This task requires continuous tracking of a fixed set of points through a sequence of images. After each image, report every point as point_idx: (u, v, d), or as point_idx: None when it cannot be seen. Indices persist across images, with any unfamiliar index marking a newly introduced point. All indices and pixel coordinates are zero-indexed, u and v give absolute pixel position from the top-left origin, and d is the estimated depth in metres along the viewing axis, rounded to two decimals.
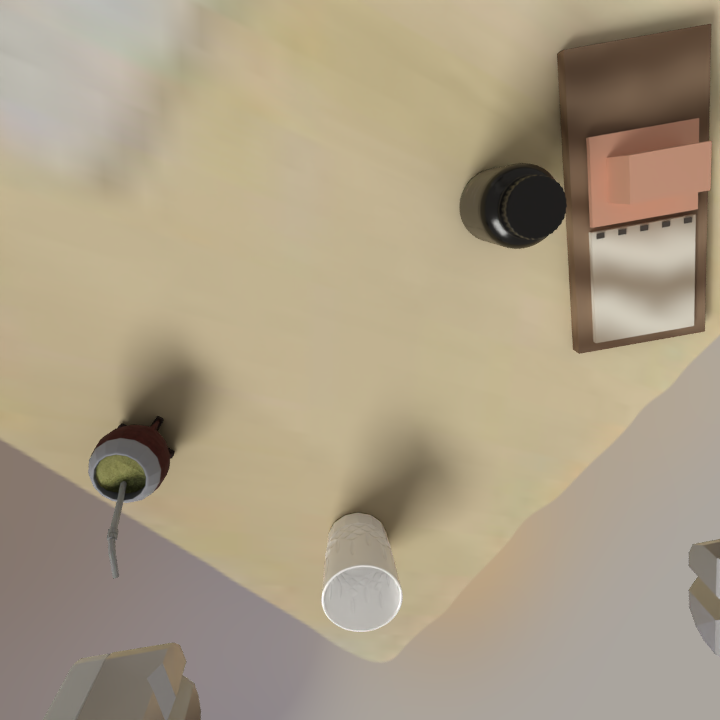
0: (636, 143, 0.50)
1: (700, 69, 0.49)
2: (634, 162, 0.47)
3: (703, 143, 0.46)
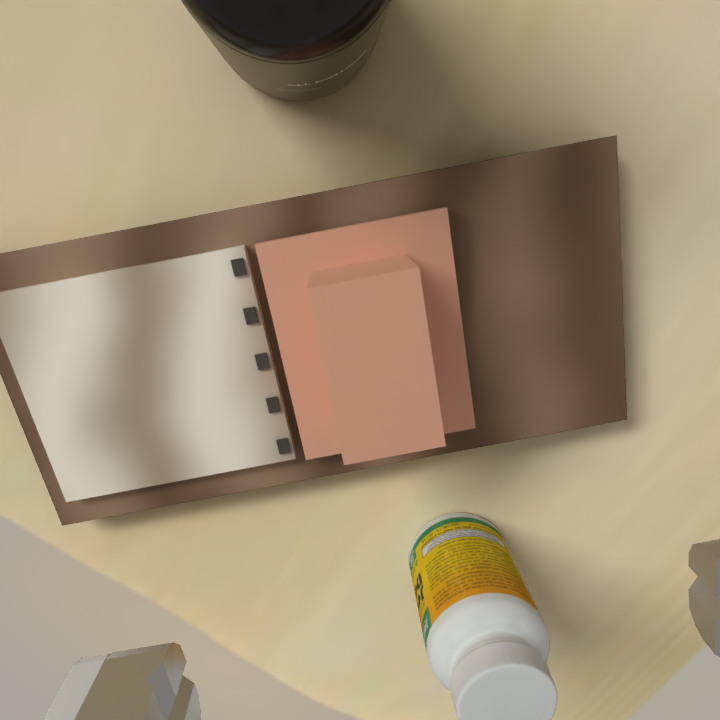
0: (431, 313, 0.24)
1: (554, 416, 0.27)
2: (402, 283, 0.19)
3: (441, 430, 0.21)
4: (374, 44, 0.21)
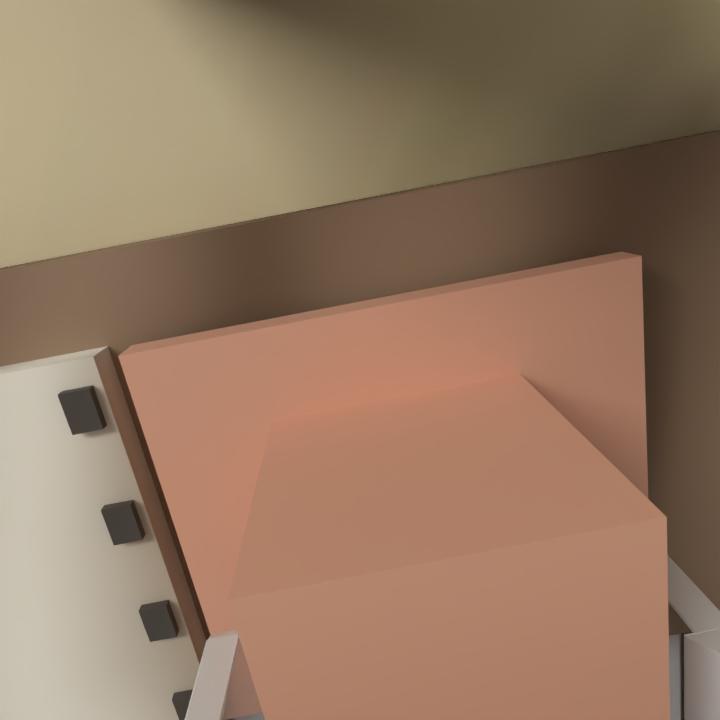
0: None
1: None
2: (595, 573, 0.05)
3: None
4: None
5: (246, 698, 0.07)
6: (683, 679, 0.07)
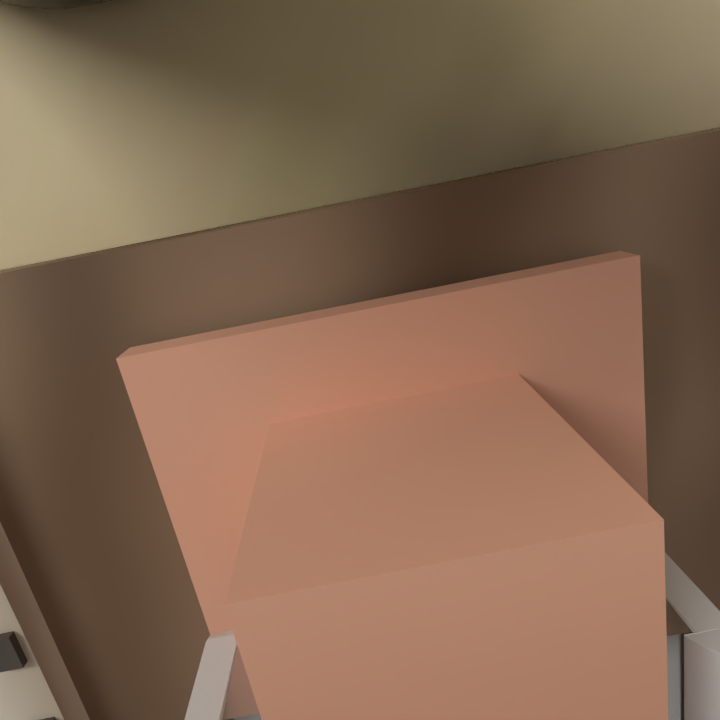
0: None
1: None
2: (592, 576, 0.05)
3: None
4: None
5: (246, 698, 0.07)
6: (684, 681, 0.07)
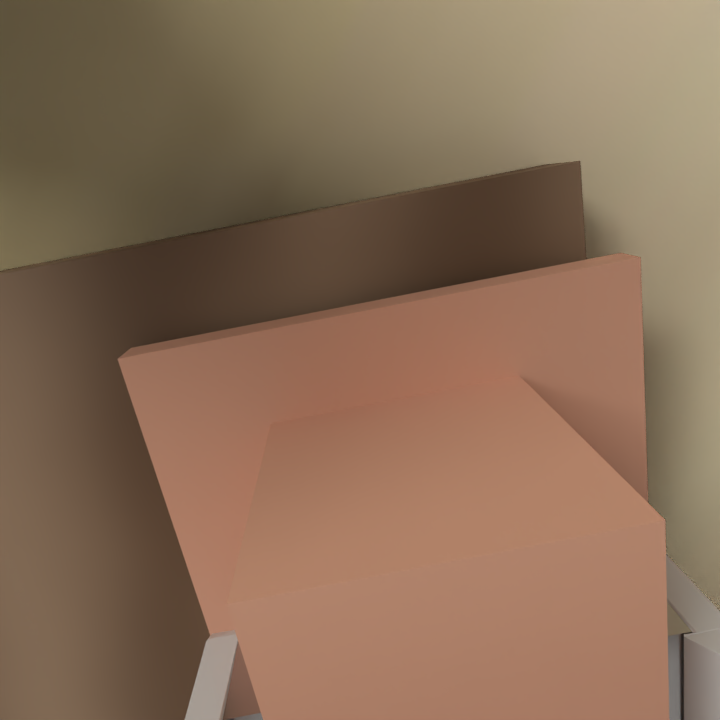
0: None
1: None
2: (594, 577, 0.05)
3: None
4: None
5: (246, 697, 0.07)
6: (683, 679, 0.07)
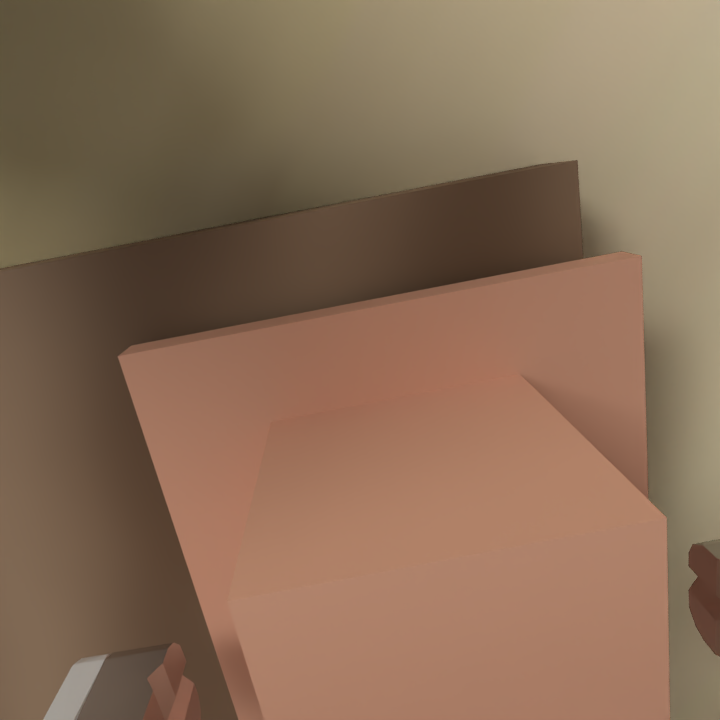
0: None
1: None
2: (595, 574, 0.05)
3: None
4: None
5: None
6: None
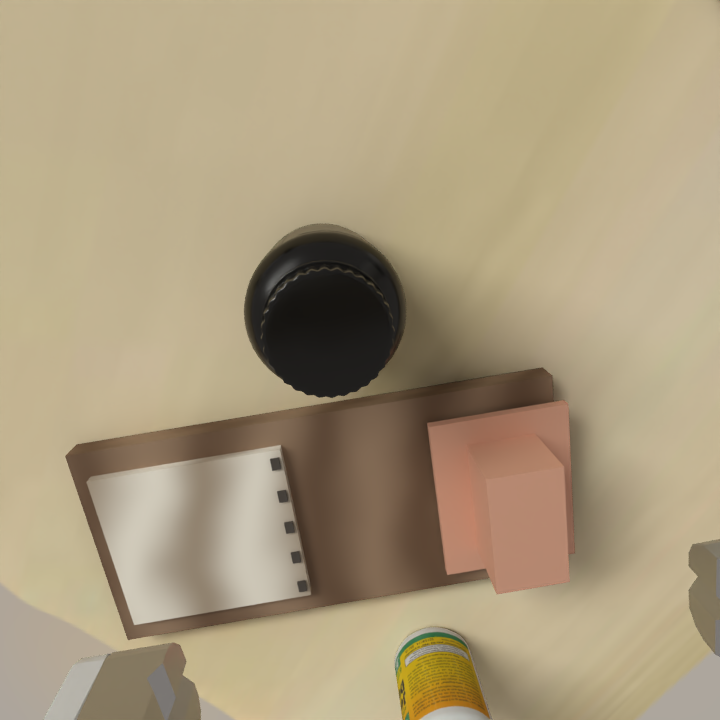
0: None
1: None
2: (551, 476, 0.28)
3: (567, 571, 0.30)
4: None
5: None
6: None
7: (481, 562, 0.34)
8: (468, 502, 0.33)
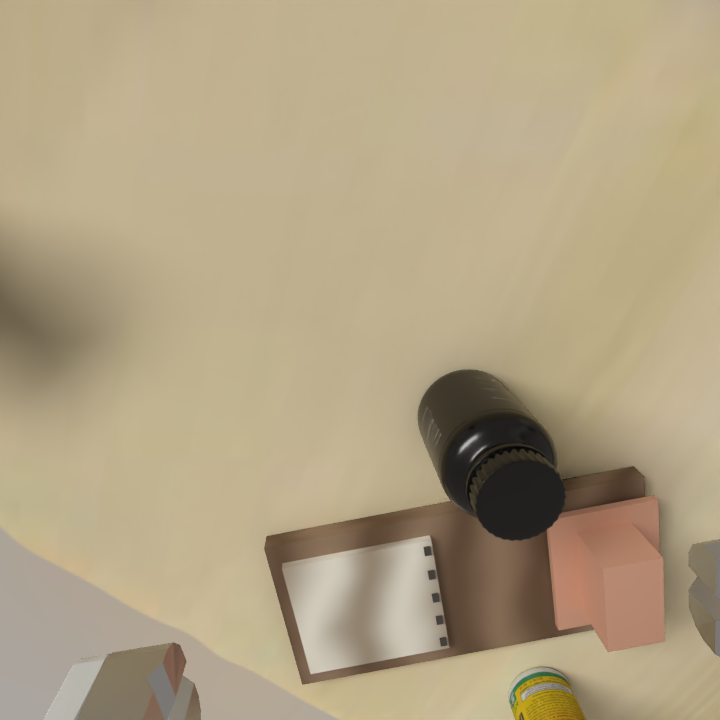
0: None
1: None
2: (653, 565, 0.37)
3: (663, 633, 0.38)
4: None
5: None
6: None
7: (585, 620, 0.43)
8: (577, 575, 0.41)
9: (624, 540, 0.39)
